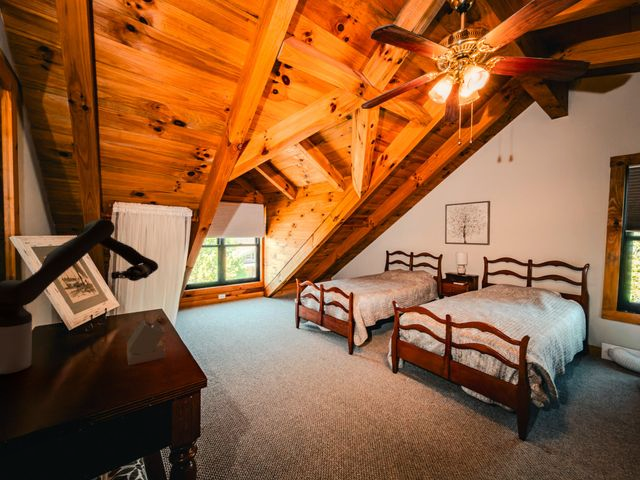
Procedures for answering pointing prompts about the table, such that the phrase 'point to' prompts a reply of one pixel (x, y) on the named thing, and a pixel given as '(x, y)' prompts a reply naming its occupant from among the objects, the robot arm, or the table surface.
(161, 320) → the peg
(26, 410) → the table surface
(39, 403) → the table surface
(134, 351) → the socket
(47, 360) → the table surface
